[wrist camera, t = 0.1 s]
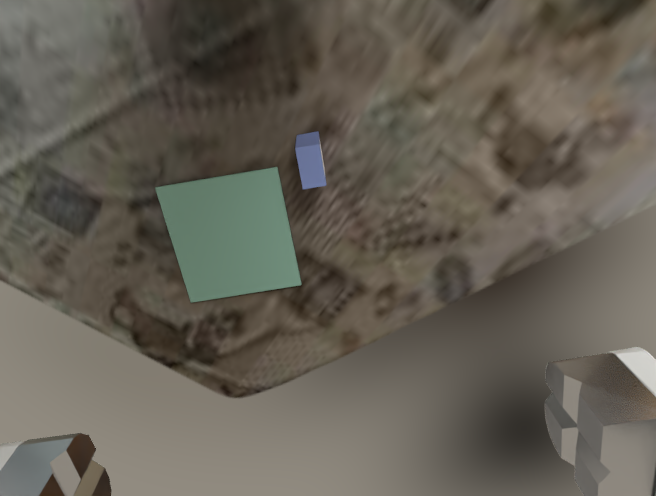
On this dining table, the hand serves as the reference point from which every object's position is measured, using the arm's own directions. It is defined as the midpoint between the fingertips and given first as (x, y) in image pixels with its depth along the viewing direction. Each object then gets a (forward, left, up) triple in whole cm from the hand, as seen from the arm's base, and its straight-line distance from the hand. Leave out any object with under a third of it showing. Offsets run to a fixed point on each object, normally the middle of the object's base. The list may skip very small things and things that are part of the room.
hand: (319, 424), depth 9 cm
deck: (+5, -1, -48) cm, 48 cm away
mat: (+14, -12, -48) cm, 51 cm away
